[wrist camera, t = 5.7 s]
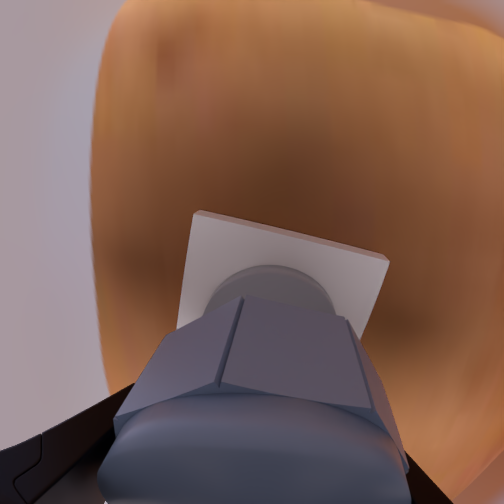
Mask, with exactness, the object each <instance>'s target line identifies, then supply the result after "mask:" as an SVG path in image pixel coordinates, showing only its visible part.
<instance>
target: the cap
mask: <svg viewBox="0 0 504 504" xmlns="http://www.w3.org/2000/svg"><path fill="white" fill-rule="evenodd" d="M113 422H114V430H115V437H116V440H115V441H114V443H113V445H112V447H111V449H110V450H109V452H108V454H107V456H106V458H105V459H104V461H103V463H102V465H101V467H100V469H99V470H98V473H97V483H98V488H99V490H100V492H101V494H102V496H103V497H104V499H105V500H106V502H107V503H108V504H411V495H410V491H409V487H408V483H407V479H406V476H405V475H406V474H407V473H408V472H409V471H408V469H409V465H408V462H407V458H406V455H405V451H404V448H403V445H402V442H401V438H400V435H399V432H398V429H397V426H396V423H395V419H394V416H393V413H392V410H391V407H390V404H389V401H388V398H387V395H386V393H385V390H384V387H383V384H382V381H381V379H380V377H379V376H378V374H377V372H376V370H375V368H374V366H373V364H372V362H371V360H370V359H369V357H368V355H367V353H366V351H365V349H364V348H363V346H362V344H361V342H360V340H359V338H358V337H357V335H356V333H355V331H354V329H353V328H352V326H351V324H350V322H349V320H348V319H347V320H345V317H343V316H338V315H334V314H329V313H324V312H320V311H315V310H311V309H306V308H302V307H297V306H293V305H288V304H284V303H280V302H275V301H271V300H267V299H263V298H258V297H254V296H250V295H246V297H245V300H244V298H243V297H242V295H241V296H239V297H237V298H235V299H233V300H231V301H230V302H228V303H226V304H224V305H222V306H220V307H218V308H217V309H215V310H213V311H211V312H209V313H207V314H205V315H203V316H202V317H200V318H198V319H196V320H194V321H192V322H190V323H188V324H186V325H185V326H183V327H181V328H179V329H177V330H175V331H173V332H171V333H169V334H167V335H166V336H165V337H164V339H163V340H162V342H161V343H160V345H159V346H158V348H157V350H156V351H155V353H154V354H153V356H152V357H151V359H150V361H149V362H148V364H147V365H146V367H145V369H144V370H143V372H142V373H141V375H140V377H139V378H138V380H137V381H136V383H135V385H134V386H133V388H132V389H131V391H130V393H129V394H128V396H127V397H126V399H125V401H124V402H123V404H122V406H121V407H120V409H119V410H118V412H117V414H116V415H115V417H114V419H113Z"/></svg>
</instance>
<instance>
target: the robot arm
mask: <svg viewBox="0 0 504 504" xmlns="http://www.w3.org/2000/svg"><path fill="white" fill-rule="evenodd" d="M134 385H135V383H133V384H131V385H129V386H127V387H126V388H124V389H122V390H120V391H118V392H117V393H115V394H113V395H111V396H110V397H108V398H106V399H104V400H102V401H101V402H99V403H97V404H95V405H93V406H92V407H90V408H88V409H86V410H84V411H82V412H81V413H79V414H77V415H75V416H73V417H71V418H69V419H67V420H65V421H64V422H62V423H60V424H58V425H56V426H54V427H52V428H50V429H48V430H46V431H45V432H43V433H42V434H38V435H36V436H35V437H32V438H30V439H28V440H26V441H24V442H22V443H20V444H17V445H15V446H12V447H9V448H7V449H4V450H1V451H0V504H104V502H105V501H106V500H105V499H104V497H103V496H102V494H101V492H100V490H99V488H98V483H97V473H98V470H99V469H100V467H101V465H102V463H103V461H104V459H105V458H106V456H107V454H108V452H109V450H110V449H111V447H112V445H113V443H114V441H115V440H116V437H115V430H114V422H113V419H114V417H115V415H116V414H117V412H118V410H119V409H120V407H121V406H122V404H123V402H124V401H125V399H126V397H127V396H128V394H129V393H130V391H131V389H132V388H133V386H134ZM404 451H405V450H404ZM405 455H406V458H407V462H408V465H409V469H408V471H409V472H408V473H407V474H406V475H405V476H406V479H407V483H408V487H409V491H410V495H411V504H453V503H452V501H451V500H450V499H449V498H448V497H447V496H446V495H445V494H444V493H443V492H442V491H441V490H440V489H439V487H438V486H437V485H436V484H435V483H434V482H433V481H432V480H431V479H430V478H429V477H428V476H427V474H426V473H425V472H424V471H423V470H422V469H421V468H420V467H419V466H418V465H417V464H416V462H415V461H414V460H413V459H412V458H411V457H410V456H409V455H408V454H407V453H406V451H405Z"/></svg>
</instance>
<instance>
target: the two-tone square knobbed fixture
mask: <svg viewBox="0 0 504 504" xmlns="http://www.w3.org/2000/svg"><path fill="white" fill-rule="evenodd" d="M389 263H390V261H389V260H388V259H387V258H386V257H385V256H384V255H383V254H380V253H376V252H373V251H369V250H365V249H361V248H357V247H353V246H350V245H346V244H342V243H338V242H334V241H330V240H326V239H322V238H318V237H314V236H310V235H306V234H302V233H298V232H294V231H290V230H285V229H281V228H277V227H273V226H269V225H265V224H260V223H256V222H252V221H248V220H243V219H239V218H235V217H230V216H226V215H221V214H217V213H213V212H208V211H204V210H199V211H197V212H196V213H194V214H193V219H192V225H191V231H190V237H189V244H188V250H187V256H186V263H185V270H184V276H183V283H182V291H181V298H180V305H179V313H178V321H177V329H179V328H181V327H183V326H185V325H186V324H188V323H190V322H192V321H194V320H196V319H198V318H200V317H202V316H203V315H205V314H207V313H209V312H211V311H213V310H215V309H217V308H218V307H220V306H222V305H224V304H226V303H228V302H230V301H231V300H233V299H235V298H237V297H239V296H241V295H242V297H243V298H244V300H245V297H246V295H250V296H254V297H258V298H263V299H267V300H271V301H275V302H280V303H284V304H288V305H293V306H297V307H302V308H306V309H311V310H315V311H320V312H324V313H329V314H334V315H338V316H343V317H345V320H347V319H348V320H349V322H350V324H351V326H352V328H353V329H354V331H355V333H356V335H357V337H358V338H359V340H360V339H361V336H362V334H363V331H364V329H365V327H366V324H367V322H368V319H369V317H370V314H371V312H372V309H373V307H374V304H375V302H376V299H377V297H378V294H379V291H380V289H381V286H382V283H383V280H384V278H385V275H386V272H387V269H388V266H389ZM177 329H176V330H177Z"/></svg>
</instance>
